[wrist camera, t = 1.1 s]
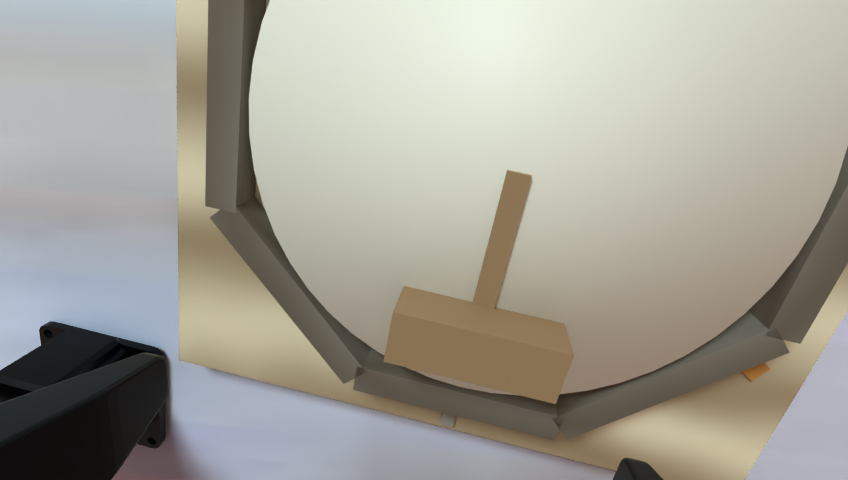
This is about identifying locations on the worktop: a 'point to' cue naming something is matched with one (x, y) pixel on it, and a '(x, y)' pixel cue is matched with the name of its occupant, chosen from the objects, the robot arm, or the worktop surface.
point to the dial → (545, 173)
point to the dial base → (432, 399)
